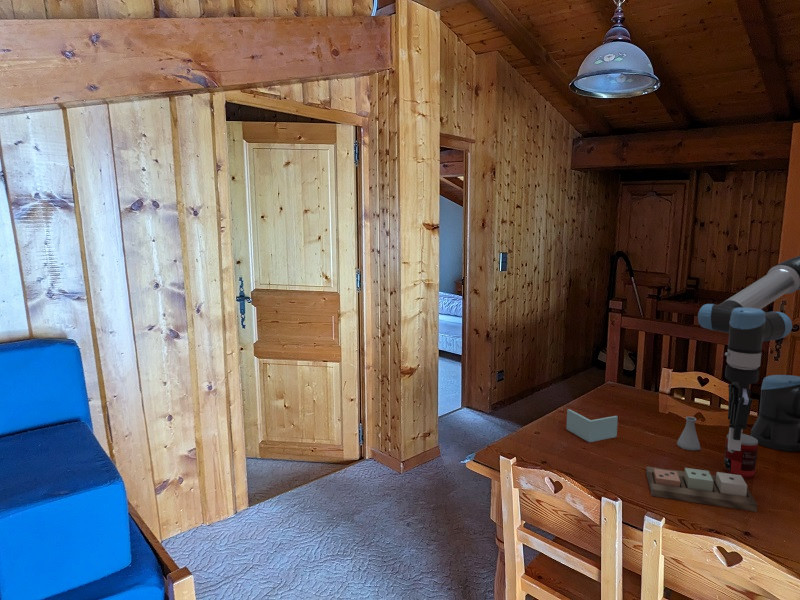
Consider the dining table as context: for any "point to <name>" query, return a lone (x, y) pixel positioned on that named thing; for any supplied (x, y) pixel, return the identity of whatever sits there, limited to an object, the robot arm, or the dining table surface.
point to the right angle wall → (591, 426)
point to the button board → (699, 493)
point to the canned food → (742, 457)
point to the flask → (689, 436)
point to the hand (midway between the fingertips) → (733, 449)
